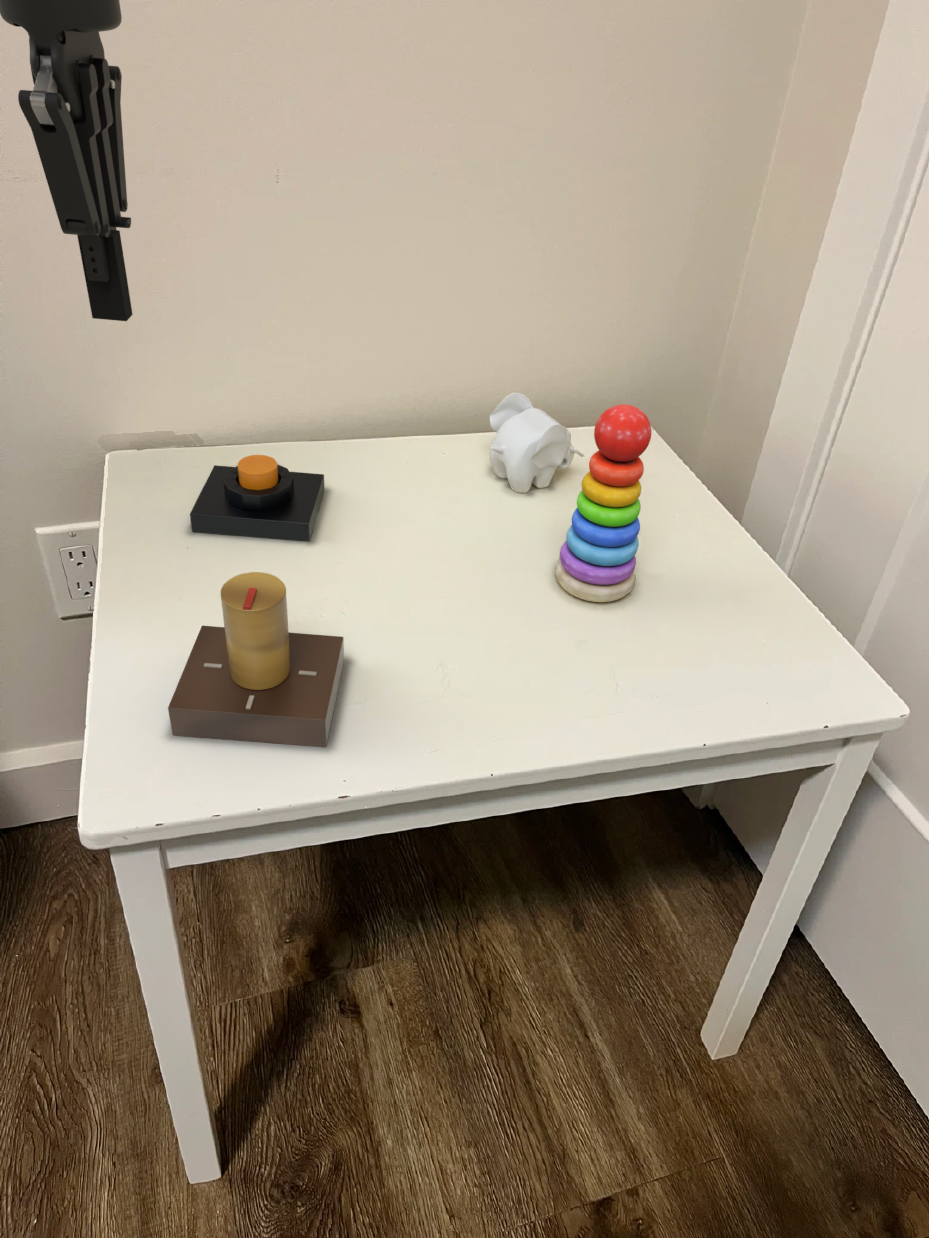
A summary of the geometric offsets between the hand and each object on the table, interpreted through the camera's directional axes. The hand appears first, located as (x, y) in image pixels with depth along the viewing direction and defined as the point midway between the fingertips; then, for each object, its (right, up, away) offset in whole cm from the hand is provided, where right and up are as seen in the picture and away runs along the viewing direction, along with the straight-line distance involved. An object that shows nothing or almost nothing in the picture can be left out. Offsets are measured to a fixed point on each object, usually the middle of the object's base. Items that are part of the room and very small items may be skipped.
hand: (112, 316), depth 73 cm
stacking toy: (+41, -21, +19) cm, 50 cm away
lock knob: (+12, -28, 0) cm, 31 cm away
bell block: (+7, -13, +24) cm, 28 cm away
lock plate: (+12, -31, +2) cm, 33 cm away
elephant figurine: (+36, -8, +34) cm, 50 cm away
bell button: (+7, -10, +22) cm, 25 cm away
